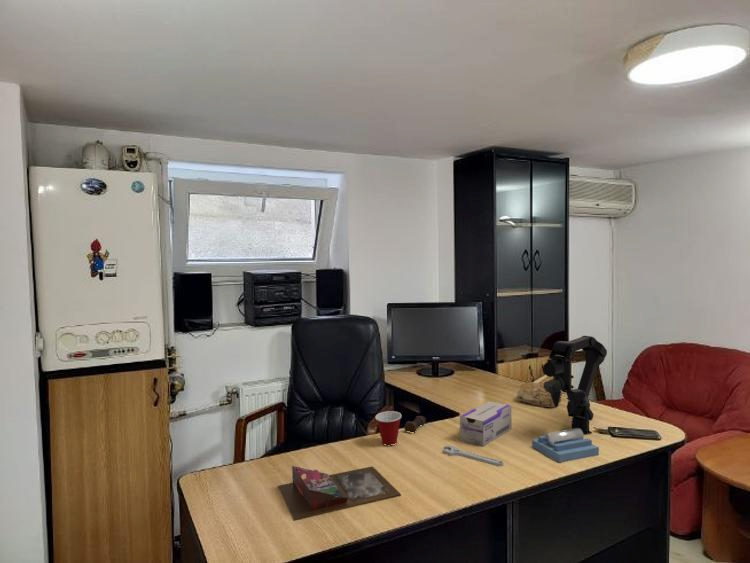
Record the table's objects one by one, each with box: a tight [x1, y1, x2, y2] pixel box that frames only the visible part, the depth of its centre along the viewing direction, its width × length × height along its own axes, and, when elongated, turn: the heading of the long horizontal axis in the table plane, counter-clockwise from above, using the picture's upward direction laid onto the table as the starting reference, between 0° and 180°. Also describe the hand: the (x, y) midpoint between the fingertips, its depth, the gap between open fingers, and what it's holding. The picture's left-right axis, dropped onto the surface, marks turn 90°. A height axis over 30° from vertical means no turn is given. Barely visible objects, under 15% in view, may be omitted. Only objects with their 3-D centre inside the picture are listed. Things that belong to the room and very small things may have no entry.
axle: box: [545, 428, 585, 447], centre depth 193 cm, size 14×5×5 cm, turn 109°
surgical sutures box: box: [459, 400, 513, 448], centre depth 212 cm, size 25×11×11 cm, turn 139°
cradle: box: [531, 434, 600, 464], centre depth 193 cm, size 18×16×5 cm
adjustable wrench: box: [442, 445, 504, 467], centre depth 188 cm, size 25×6×2 cm, turn 47°
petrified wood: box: [516, 381, 563, 409], centre depth 253 cm, size 19×13×10 cm
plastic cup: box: [374, 410, 402, 445], centre depth 204 cm, size 11×11×12 cm
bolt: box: [403, 415, 427, 433], centre depth 222 cm, size 6×5×15 cm
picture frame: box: [277, 465, 402, 521], centre depth 165 cm, size 24×35×8 cm
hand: (563, 410), depth 204 cm, fingers open, 9 cm apart
